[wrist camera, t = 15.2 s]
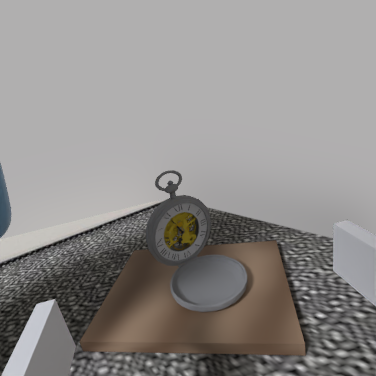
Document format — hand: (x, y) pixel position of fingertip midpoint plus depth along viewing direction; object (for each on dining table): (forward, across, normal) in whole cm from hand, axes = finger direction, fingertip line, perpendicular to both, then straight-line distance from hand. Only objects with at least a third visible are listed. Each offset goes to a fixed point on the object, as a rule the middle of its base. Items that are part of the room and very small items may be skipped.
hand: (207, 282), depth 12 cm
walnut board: (+10, 0, -9) cm, 13 cm away
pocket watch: (+10, +1, -8) cm, 13 cm away
